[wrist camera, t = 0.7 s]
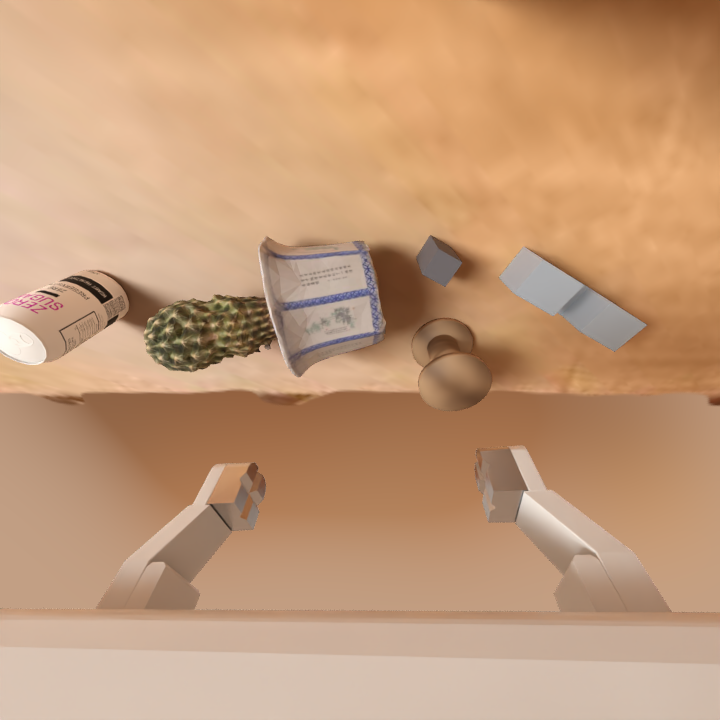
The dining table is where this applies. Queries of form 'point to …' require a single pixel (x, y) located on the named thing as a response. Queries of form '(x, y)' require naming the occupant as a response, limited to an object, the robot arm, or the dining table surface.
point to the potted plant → (278, 312)
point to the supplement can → (59, 317)
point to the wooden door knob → (449, 366)
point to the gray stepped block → (569, 300)
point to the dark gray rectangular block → (438, 261)
